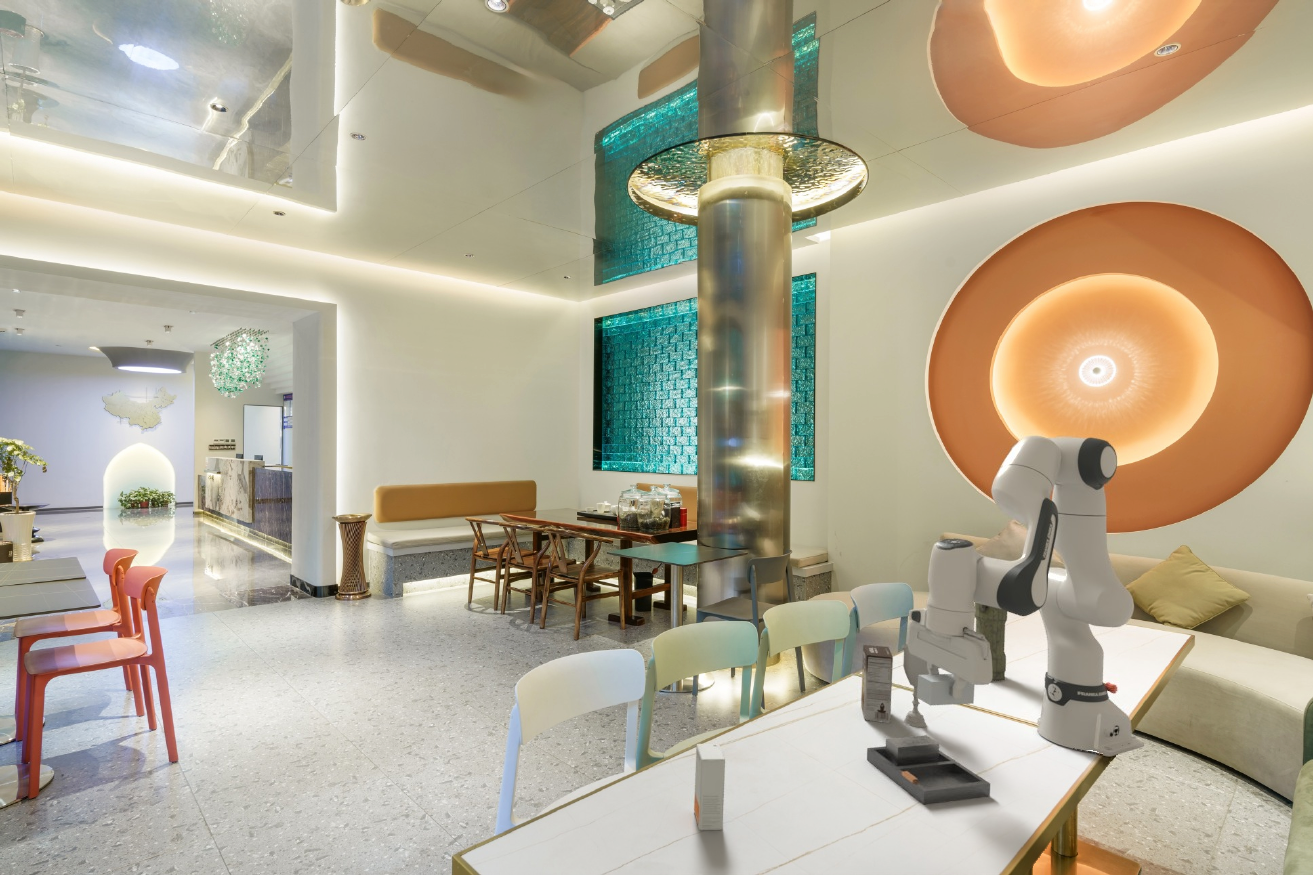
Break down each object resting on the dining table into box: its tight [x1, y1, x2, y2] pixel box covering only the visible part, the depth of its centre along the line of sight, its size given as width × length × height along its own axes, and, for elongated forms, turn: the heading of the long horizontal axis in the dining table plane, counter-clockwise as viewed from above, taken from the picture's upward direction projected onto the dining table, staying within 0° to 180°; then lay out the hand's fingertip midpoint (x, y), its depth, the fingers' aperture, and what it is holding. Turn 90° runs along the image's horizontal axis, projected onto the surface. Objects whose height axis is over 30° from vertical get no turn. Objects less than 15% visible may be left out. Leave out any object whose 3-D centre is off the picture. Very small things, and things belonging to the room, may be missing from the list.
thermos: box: [974, 602, 1008, 682], centre depth 199 cm, size 9×12×35 cm
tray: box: [866, 734, 991, 805], centre depth 133 cm, size 15×18×5 cm
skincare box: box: [693, 743, 726, 831], centre depth 114 cm, size 6×4×12 cm
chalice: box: [901, 643, 929, 728], centre depth 161 cm, size 7×7×18 cm
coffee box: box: [860, 644, 894, 724], centre depth 164 cm, size 9×6×16 cm
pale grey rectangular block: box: [917, 673, 975, 706], centre depth 130 cm, size 10×4×4 cm, turn 106°
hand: (945, 691), depth 130 cm, fingers closed on pale grey rectangular block, 4 cm apart
